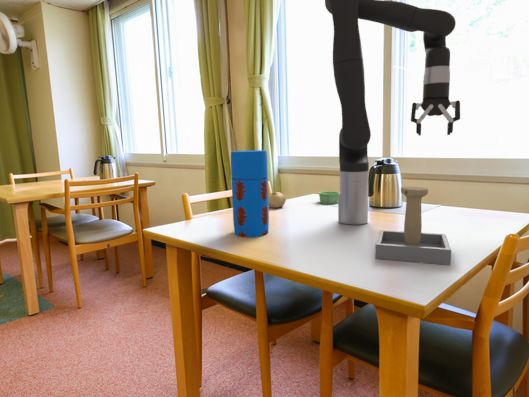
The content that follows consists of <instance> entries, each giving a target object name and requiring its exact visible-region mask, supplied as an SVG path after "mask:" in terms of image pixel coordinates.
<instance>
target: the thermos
mask: <svg viewBox="0 0 529 397" xmlns="http://www.w3.org/2000/svg"><path fill="white" fill-rule="evenodd" d="M230 170H231V190H232V191H231V192H232V193H231V195H232V197H231V198H232V219H233V220H232V221H233V231H234V235H235V236H237V237H240V238H256V237H257V238H259V237H263V236H266V235H268V233H269V227H270V226H269V225H270V224H269V223H270V222H269V221H270V220H269V219H270V217H269V206H268V195H269V182H268V180H269V179H268V154H267V150H262V149H261V150H236V151H235V150H232V151H231V152H230Z"/></svg>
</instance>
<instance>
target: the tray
mask: <svg viewBox="0 0 529 397" xmlns="http://www.w3.org/2000/svg"><path fill="white" fill-rule="evenodd" d="M376 239H377V240H376V242H375V260H385V261H397V262H398V261H399V262H408V261H412V262H411V263H420V262H424V263H423V264H431V263H435V264H434V265H443V264H445V266H451V259H452V249H451V246H450V243H449V239H448V237H447V234H446V233H437V232H436V233H434V232H421V238H420V242H419V246H407V245H405V238H404V230H403V231H399V230H385V229H383V230H381V229H379V232H378V235H377V238H376Z"/></svg>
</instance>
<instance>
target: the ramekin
mask: <svg viewBox="0 0 529 397" xmlns="http://www.w3.org/2000/svg"><path fill="white" fill-rule="evenodd" d="M339 194H340V191H332V190H331V191H330V190H329V191H319V192H318V196H319V202H320V203H321V204H322V205H323V204H324V205H335V204H338V195H339Z"/></svg>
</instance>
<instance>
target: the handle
mask: <svg viewBox="0 0 529 397" xmlns="http://www.w3.org/2000/svg"><path fill="white" fill-rule="evenodd" d="M400 193H401V194H402V195H404V197H405V198H406V202H405V203H406V204H405V214H404V223H403V224H404V227H403V232H404V238H405V245H407V246H419V242H420V238H421V233H422V229H423V228H422V198H423V197H425V196H427V195H428V194H429V189H428V188H426V187H421V186H420V187H419V186H401V187H400Z"/></svg>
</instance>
